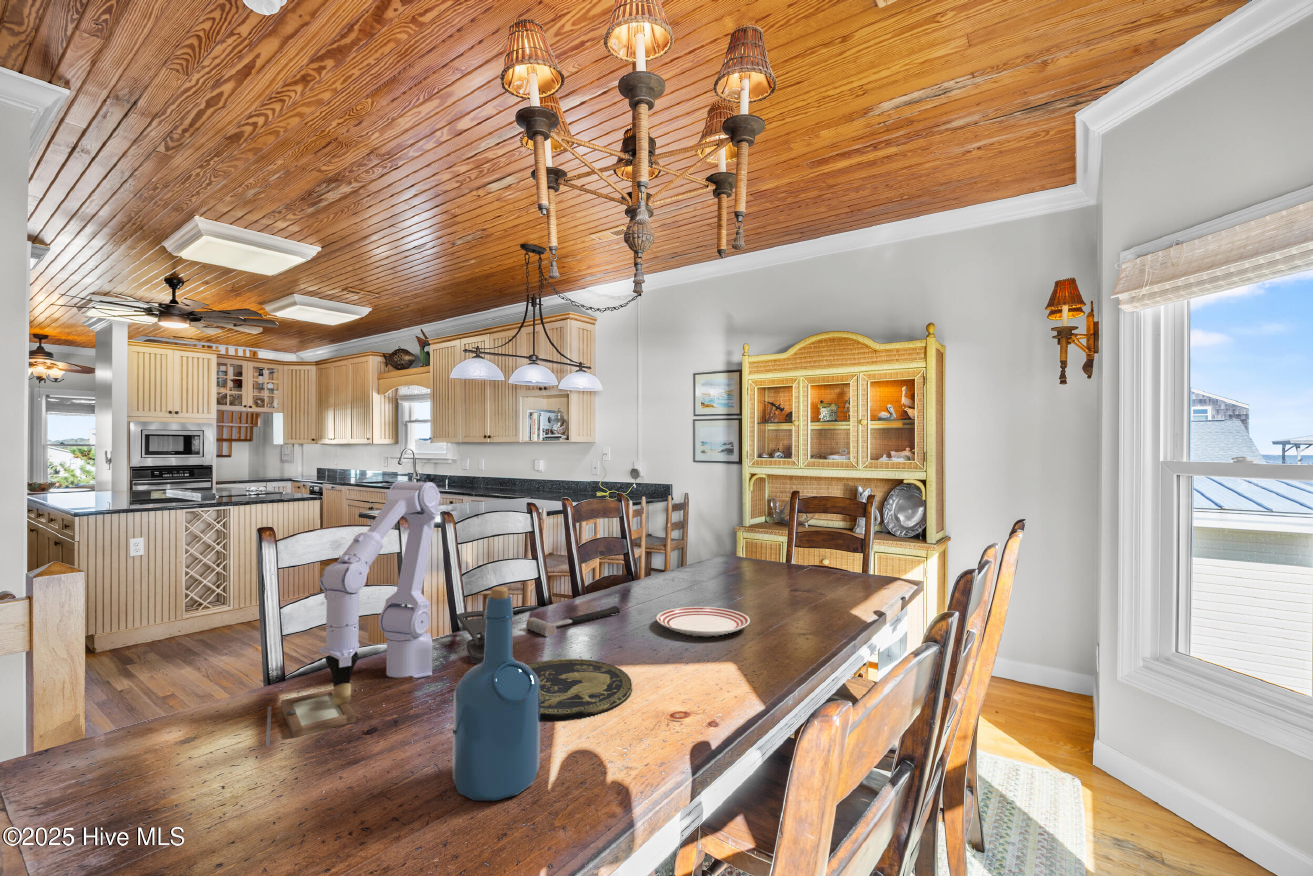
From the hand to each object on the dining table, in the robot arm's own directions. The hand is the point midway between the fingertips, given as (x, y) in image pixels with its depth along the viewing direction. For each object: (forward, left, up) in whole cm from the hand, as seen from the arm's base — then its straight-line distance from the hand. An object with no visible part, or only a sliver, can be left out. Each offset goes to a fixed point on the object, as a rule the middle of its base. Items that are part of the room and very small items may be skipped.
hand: (341, 692), depth 117 cm
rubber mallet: (-65, -28, -4) cm, 71 cm away
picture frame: (+4, +3, -2) cm, 5 cm away
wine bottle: (-18, +41, -3) cm, 45 cm away
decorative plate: (-41, +14, -4) cm, 44 cm away
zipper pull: (-34, -21, -4) cm, 40 cm away
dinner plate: (-94, -6, -4) cm, 95 cm away
